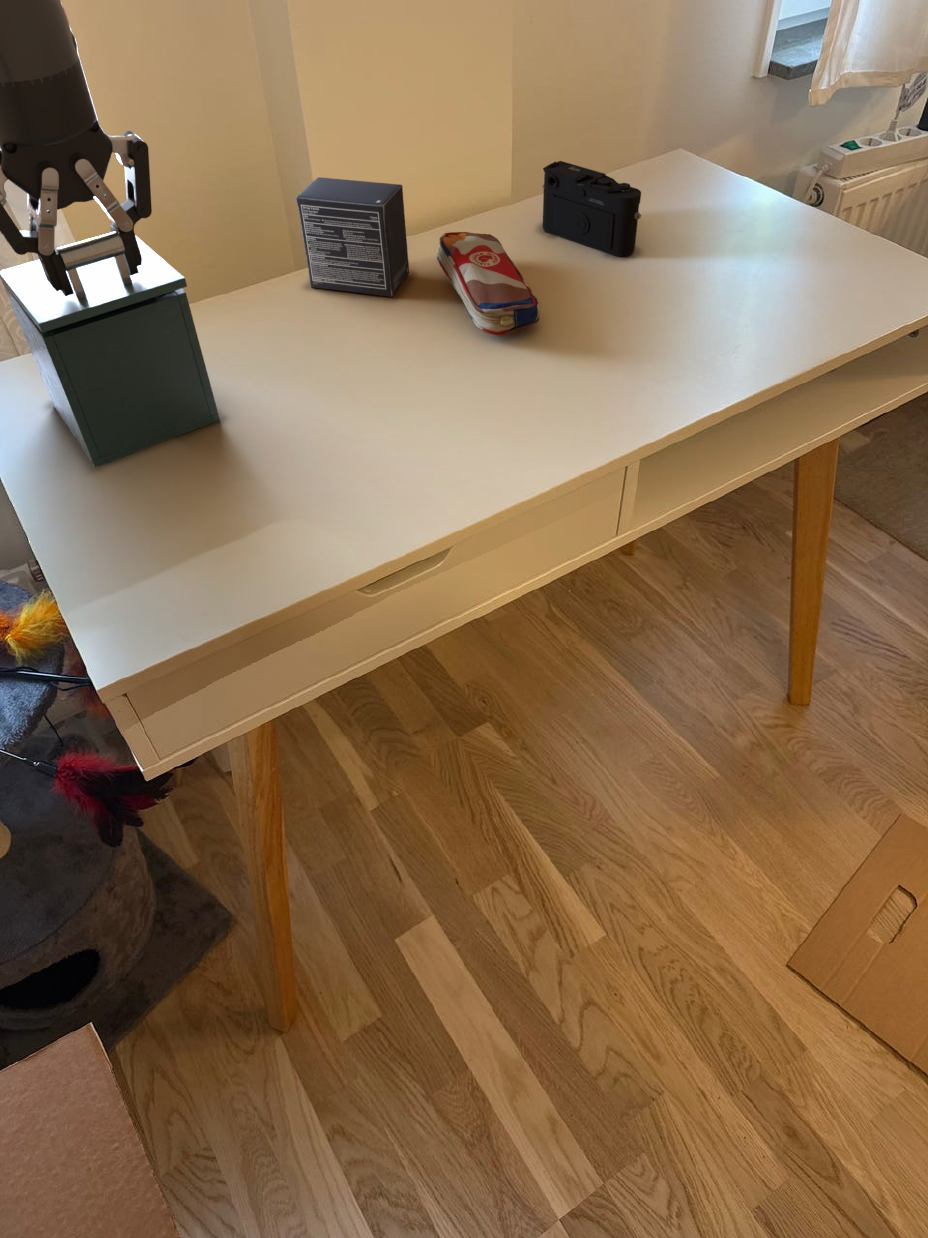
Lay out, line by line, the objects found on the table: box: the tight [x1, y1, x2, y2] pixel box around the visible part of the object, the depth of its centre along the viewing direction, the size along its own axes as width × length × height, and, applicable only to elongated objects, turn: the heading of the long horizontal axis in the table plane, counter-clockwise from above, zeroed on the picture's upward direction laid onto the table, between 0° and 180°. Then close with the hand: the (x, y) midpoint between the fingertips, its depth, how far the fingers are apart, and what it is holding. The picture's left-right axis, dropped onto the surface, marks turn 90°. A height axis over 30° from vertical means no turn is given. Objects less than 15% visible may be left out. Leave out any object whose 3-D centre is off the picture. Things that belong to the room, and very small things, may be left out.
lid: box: [0, 231, 188, 333], centre depth 80 cm, size 14×13×5 cm
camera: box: [541, 160, 642, 258], centre depth 113 cm, size 14×7×8 cm, turn 49°
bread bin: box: [1, 280, 221, 468], centre depth 88 cm, size 13×13×13 cm
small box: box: [295, 176, 410, 297], centre depth 106 cm, size 11×6×10 cm, turn 72°
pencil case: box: [436, 231, 541, 337], centre depth 104 cm, size 11×20×5 cm, turn 1°
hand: (98, 280), depth 79 cm, fingers closed on lid, 5 cm apart
